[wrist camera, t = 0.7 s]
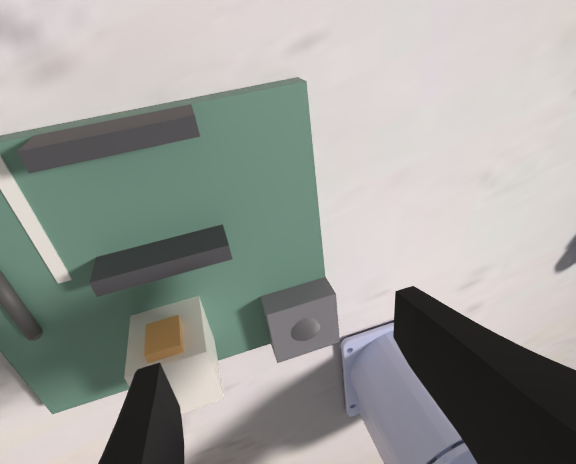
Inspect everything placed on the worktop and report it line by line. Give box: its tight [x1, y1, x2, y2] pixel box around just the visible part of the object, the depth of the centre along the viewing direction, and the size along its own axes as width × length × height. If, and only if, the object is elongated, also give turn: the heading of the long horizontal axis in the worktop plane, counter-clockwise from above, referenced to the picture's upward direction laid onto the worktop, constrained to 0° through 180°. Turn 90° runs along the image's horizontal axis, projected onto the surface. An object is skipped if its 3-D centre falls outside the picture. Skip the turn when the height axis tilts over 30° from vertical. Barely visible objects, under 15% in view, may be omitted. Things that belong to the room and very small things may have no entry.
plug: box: [124, 296, 224, 414], centre depth 19 cm, size 4×4×4 cm
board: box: [0, 77, 340, 414], centre depth 18 cm, size 15×17×3 cm
